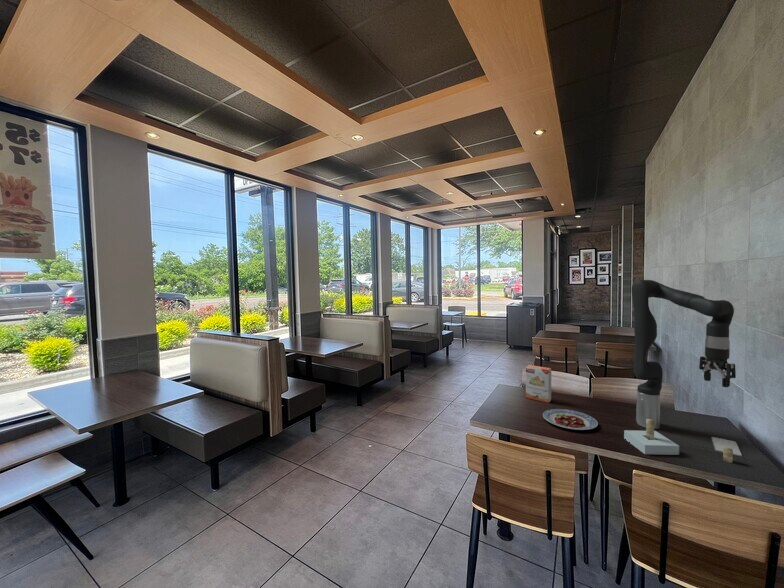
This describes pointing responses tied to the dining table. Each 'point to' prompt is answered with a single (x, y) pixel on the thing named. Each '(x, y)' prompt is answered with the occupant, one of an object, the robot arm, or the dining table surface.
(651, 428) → the long pin
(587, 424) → the ceramic plate
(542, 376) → the cracker box
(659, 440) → the hole block
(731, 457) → the short pin
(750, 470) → the dining table surface
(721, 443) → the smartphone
